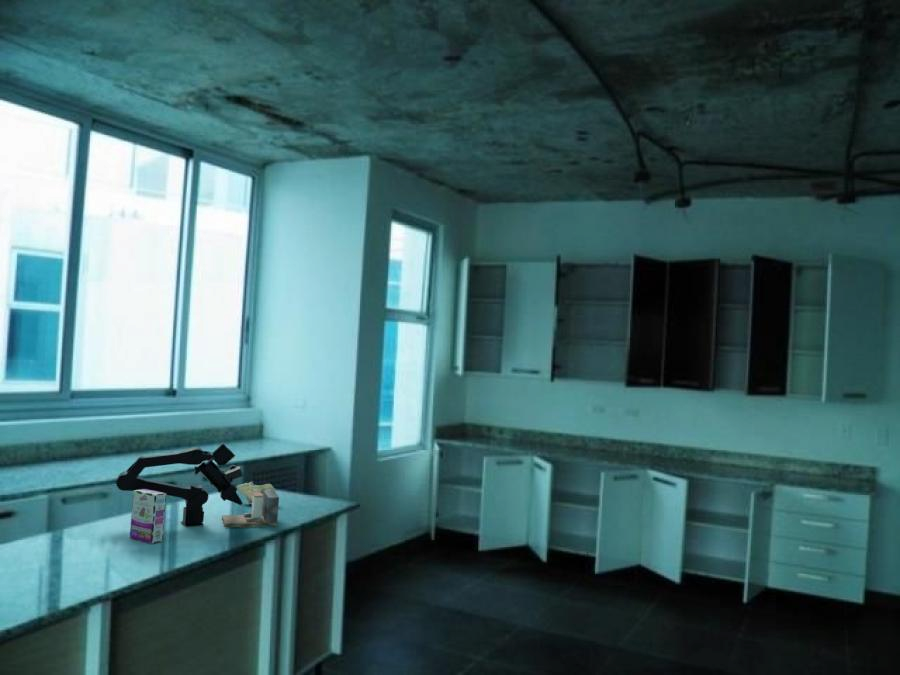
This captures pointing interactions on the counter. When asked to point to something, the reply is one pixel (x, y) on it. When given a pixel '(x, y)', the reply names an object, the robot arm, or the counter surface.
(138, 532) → the candy bar box
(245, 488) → the cheese
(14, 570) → the counter surface
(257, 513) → the pink-topped white block
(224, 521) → the wooden platform
